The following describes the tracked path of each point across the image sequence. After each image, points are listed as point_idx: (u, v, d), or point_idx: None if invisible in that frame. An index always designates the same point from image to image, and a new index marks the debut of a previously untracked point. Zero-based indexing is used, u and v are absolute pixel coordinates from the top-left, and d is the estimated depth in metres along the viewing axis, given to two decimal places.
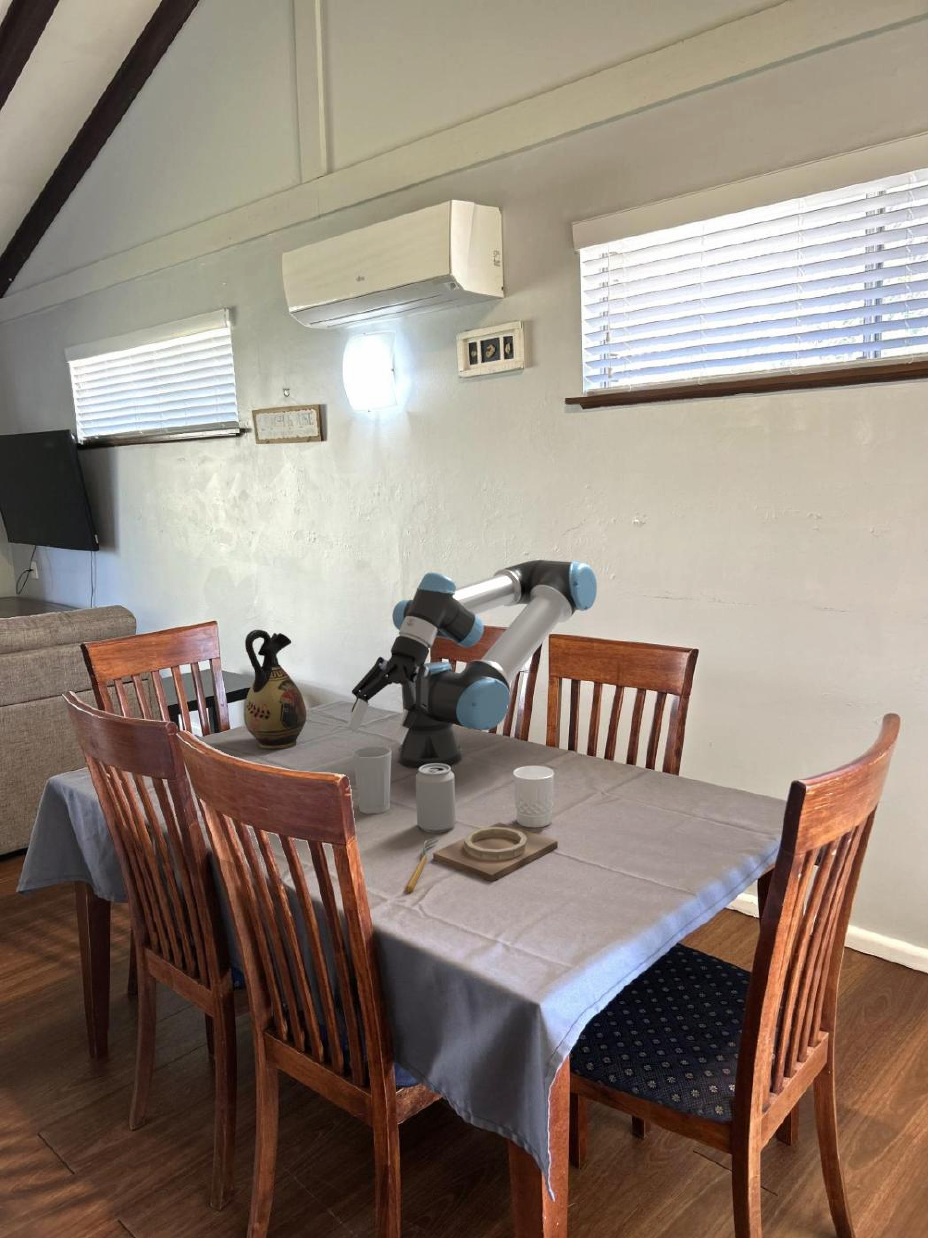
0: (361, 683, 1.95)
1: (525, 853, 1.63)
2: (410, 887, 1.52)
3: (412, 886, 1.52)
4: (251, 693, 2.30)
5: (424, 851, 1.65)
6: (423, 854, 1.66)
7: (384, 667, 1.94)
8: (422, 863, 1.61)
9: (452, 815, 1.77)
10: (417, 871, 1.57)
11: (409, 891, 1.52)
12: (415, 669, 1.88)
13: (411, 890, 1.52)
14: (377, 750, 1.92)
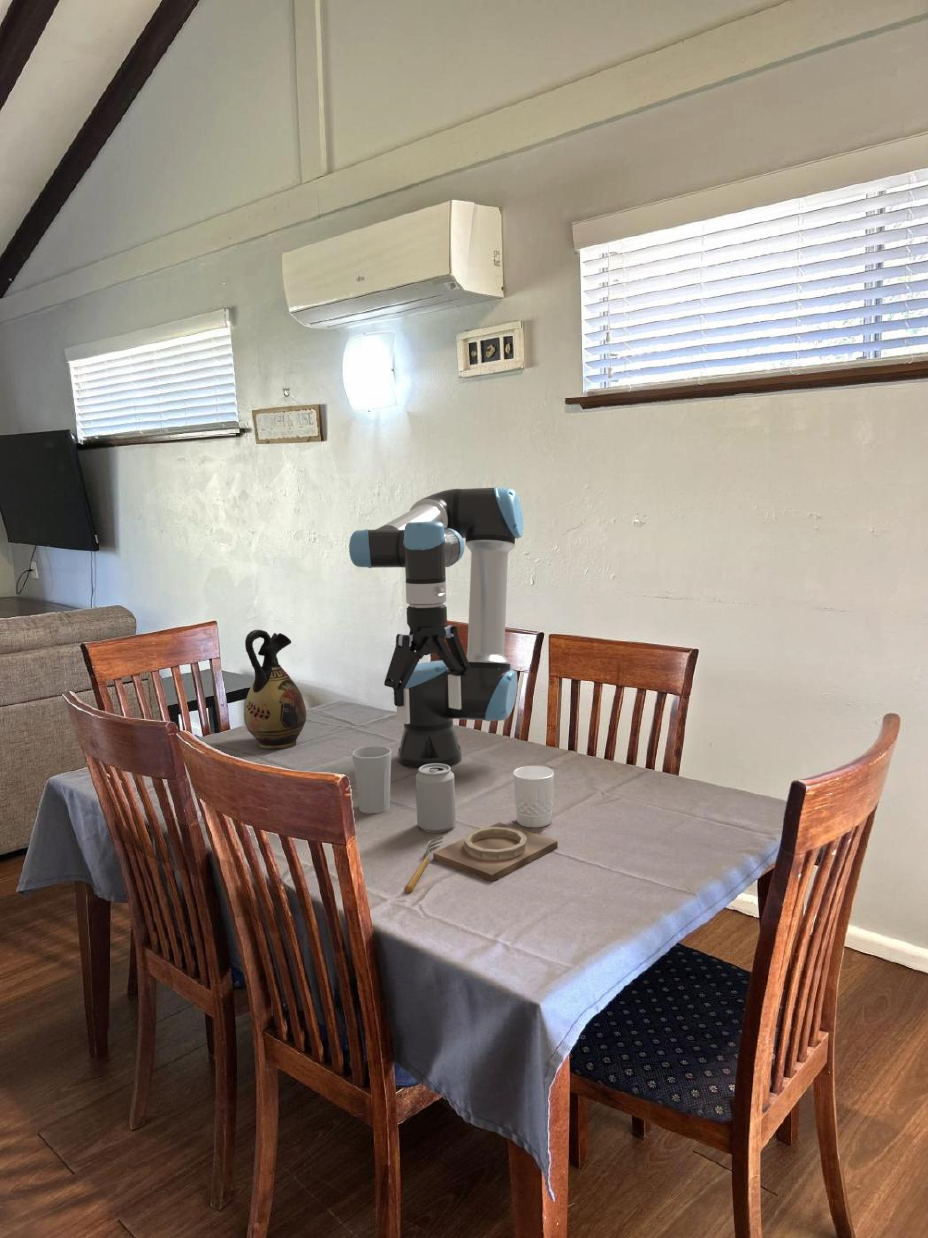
0: (399, 672, 1.67)
1: (525, 853, 1.63)
2: (409, 887, 1.52)
3: (412, 886, 1.52)
4: (251, 693, 2.30)
5: (427, 851, 1.65)
6: (426, 854, 1.65)
7: None
8: (424, 863, 1.60)
9: (452, 815, 1.77)
10: (418, 871, 1.57)
11: (408, 891, 1.52)
12: (445, 633, 1.76)
13: (410, 890, 1.52)
14: (377, 750, 1.92)
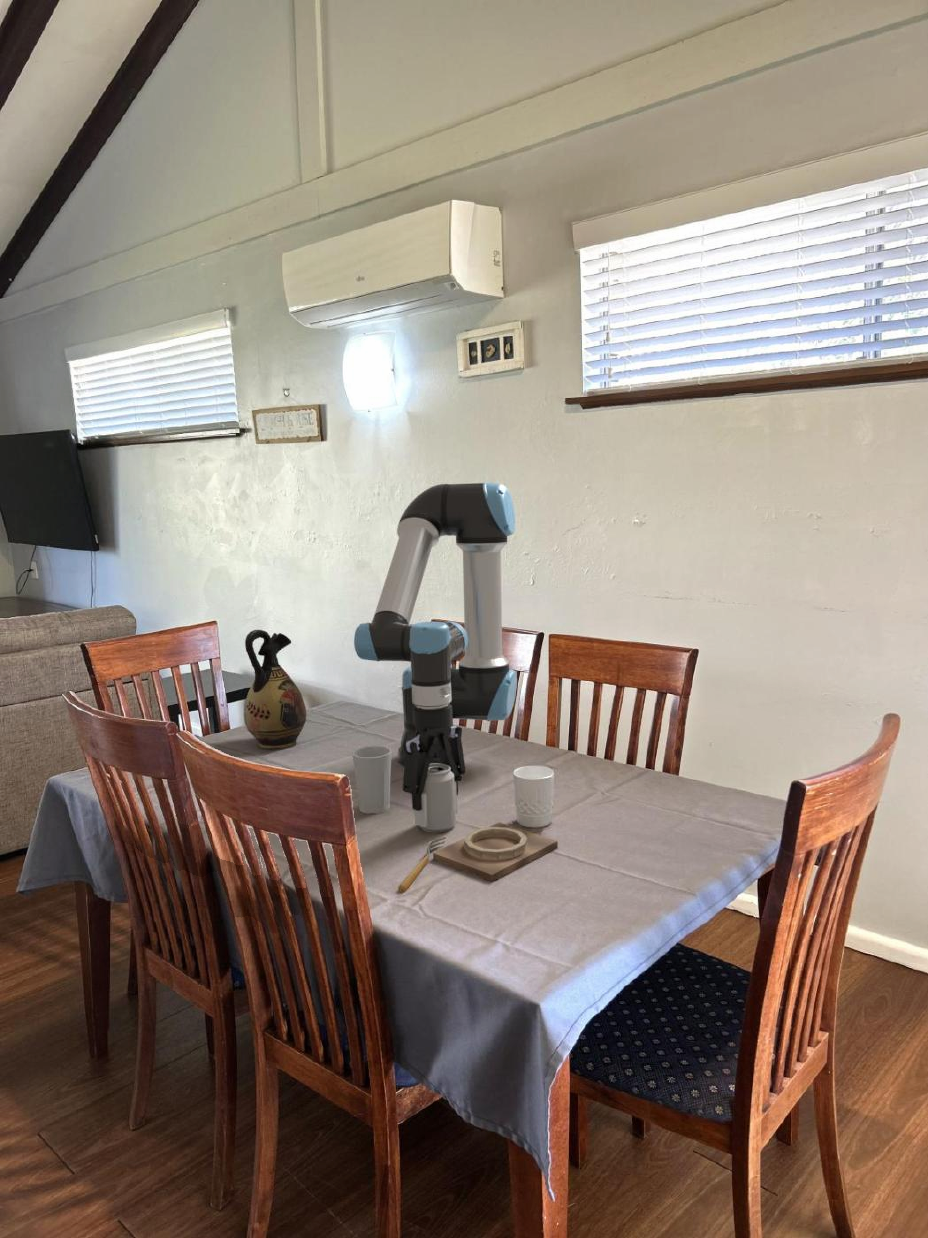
0: (415, 778, 1.72)
1: (525, 853, 1.63)
2: (403, 887, 1.52)
3: (405, 886, 1.53)
4: (251, 693, 2.30)
5: (427, 851, 1.65)
6: (427, 854, 1.65)
7: None
8: (422, 863, 1.60)
9: (452, 815, 1.77)
10: (414, 871, 1.57)
11: (402, 891, 1.52)
12: None
13: (404, 890, 1.52)
14: (377, 750, 1.92)
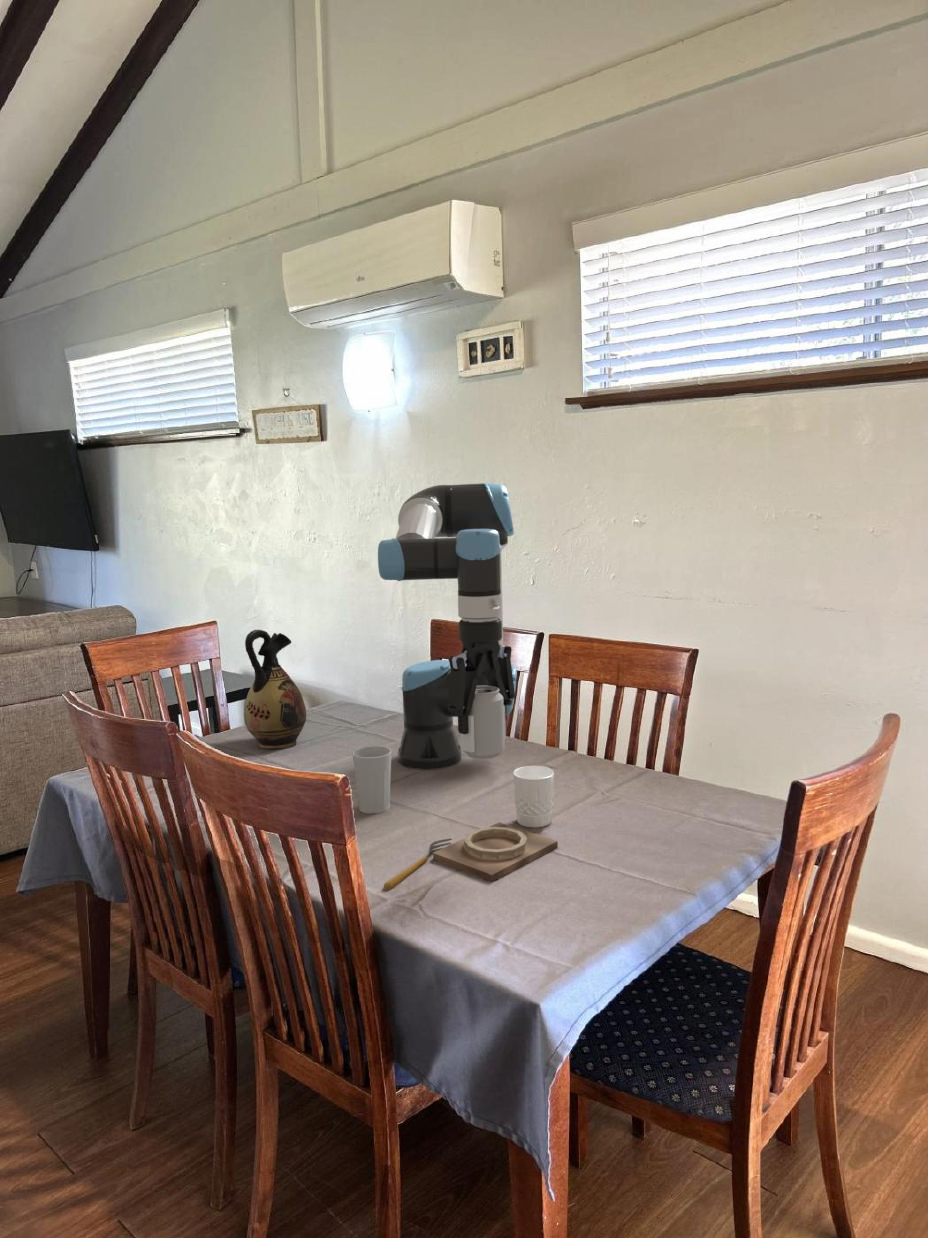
0: (462, 697, 1.57)
1: (525, 853, 1.63)
2: (388, 884, 1.53)
3: (391, 884, 1.54)
4: (251, 693, 2.30)
5: (428, 851, 1.65)
6: None
7: None
8: (417, 863, 1.61)
9: (501, 740, 1.62)
10: (406, 869, 1.58)
11: (387, 888, 1.53)
12: None
13: (389, 887, 1.53)
14: (377, 750, 1.92)
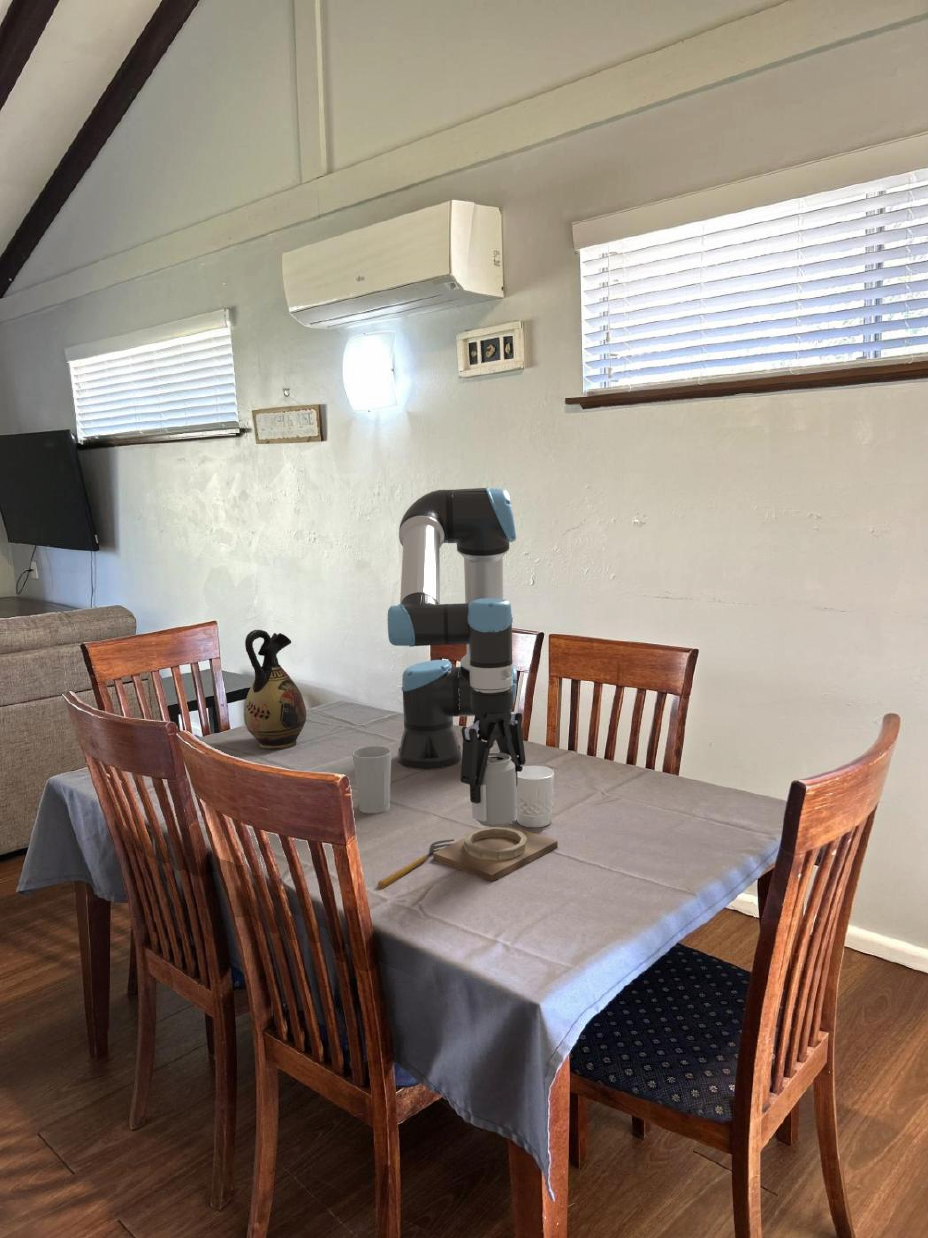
0: (474, 768, 1.58)
1: (525, 853, 1.63)
2: (381, 883, 1.54)
3: (384, 882, 1.54)
4: (251, 693, 2.30)
5: (428, 851, 1.65)
6: None
7: None
8: (415, 862, 1.61)
9: (513, 808, 1.63)
10: (402, 868, 1.58)
11: (380, 886, 1.54)
12: None
13: (382, 886, 1.54)
14: (377, 750, 1.92)
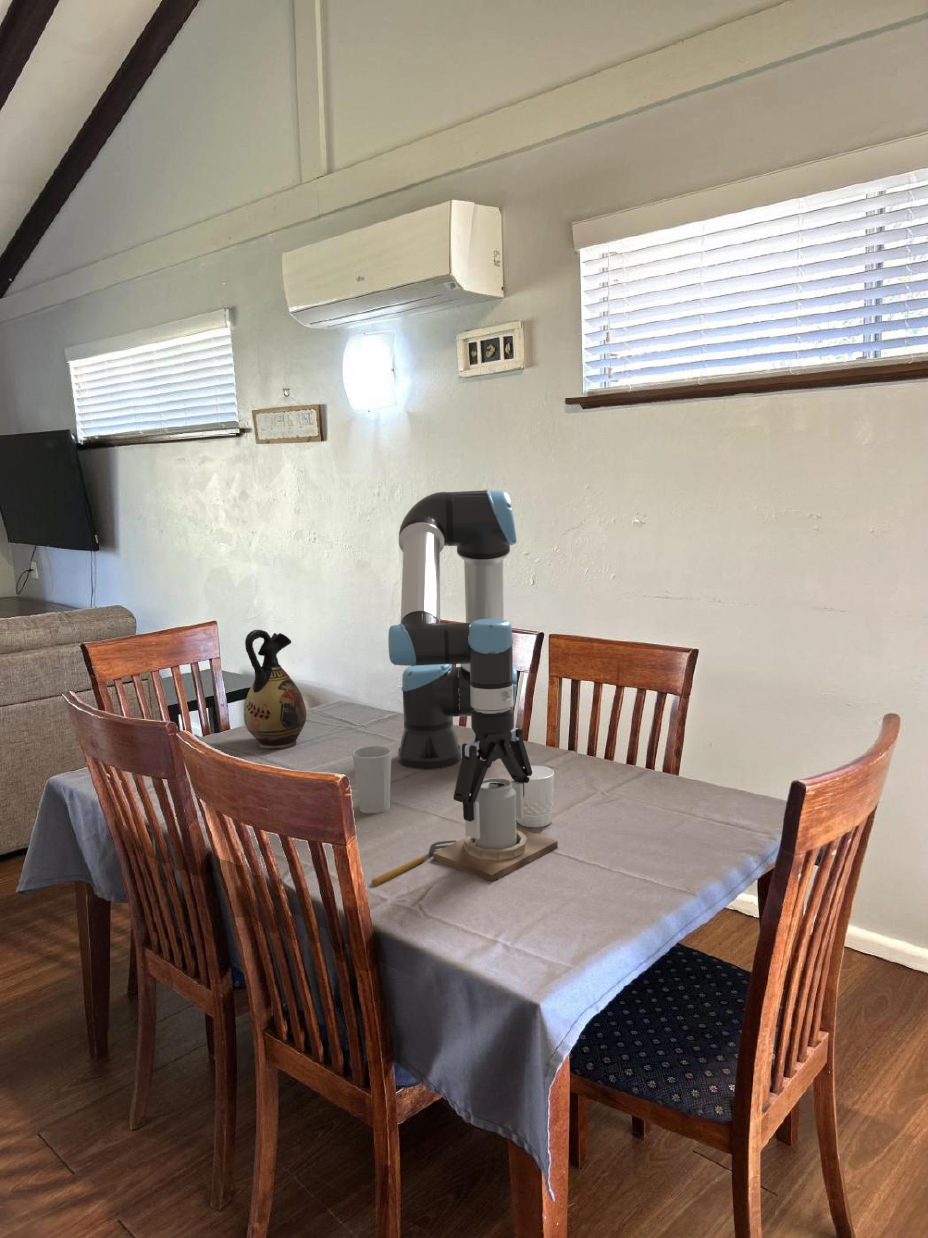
0: (469, 786, 1.57)
1: (525, 853, 1.63)
2: (375, 881, 1.55)
3: (378, 880, 1.55)
4: (251, 693, 2.30)
5: (428, 851, 1.65)
6: (428, 854, 1.65)
7: None
8: (412, 862, 1.61)
9: (513, 834, 1.64)
10: (398, 867, 1.59)
11: (373, 884, 1.55)
12: None
13: (375, 884, 1.55)
14: (377, 750, 1.92)
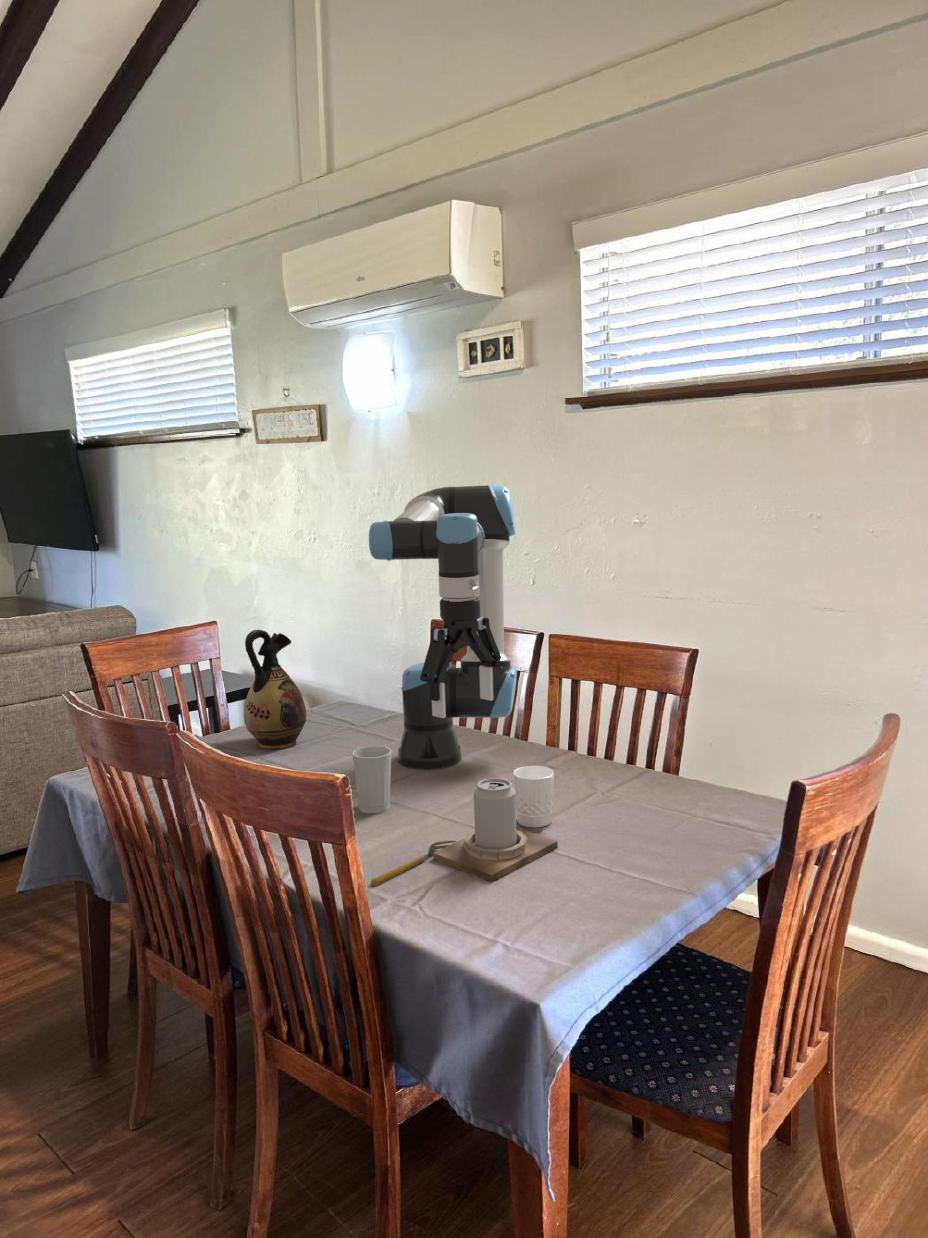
0: (436, 667, 1.67)
1: (525, 853, 1.63)
2: (374, 881, 1.55)
3: (377, 880, 1.55)
4: (251, 693, 2.30)
5: (428, 851, 1.65)
6: (427, 854, 1.65)
7: None
8: (412, 862, 1.61)
9: (513, 834, 1.64)
10: (398, 867, 1.59)
11: (373, 884, 1.55)
12: None
13: (375, 884, 1.55)
14: (377, 750, 1.92)
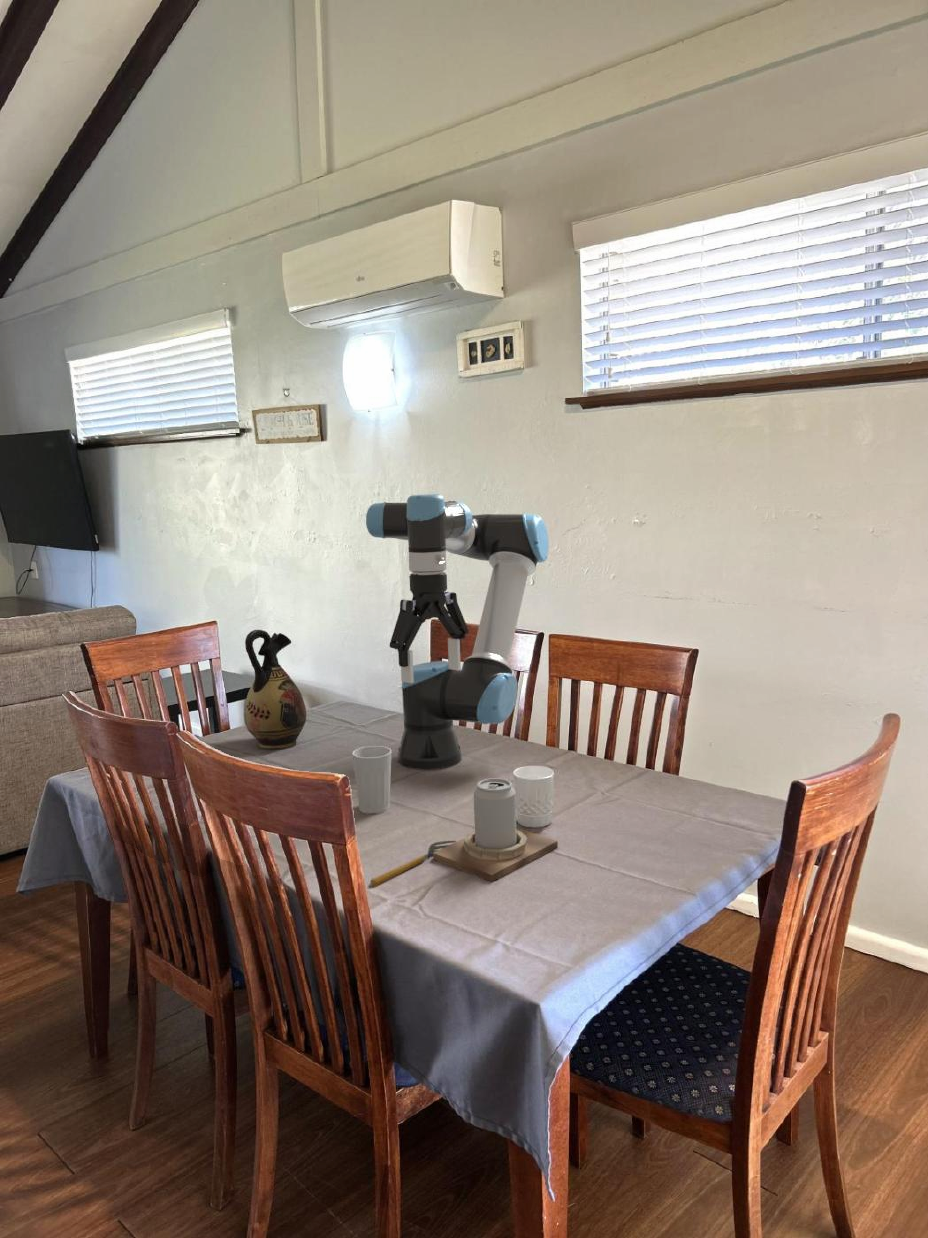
0: (404, 635, 1.80)
1: (525, 853, 1.63)
2: (374, 881, 1.55)
3: (377, 880, 1.55)
4: (251, 693, 2.30)
5: None
6: None
7: None
8: (411, 862, 1.61)
9: (513, 834, 1.64)
10: (397, 868, 1.59)
11: (372, 884, 1.55)
12: (445, 598, 1.89)
13: (374, 884, 1.55)
14: (377, 750, 1.92)
